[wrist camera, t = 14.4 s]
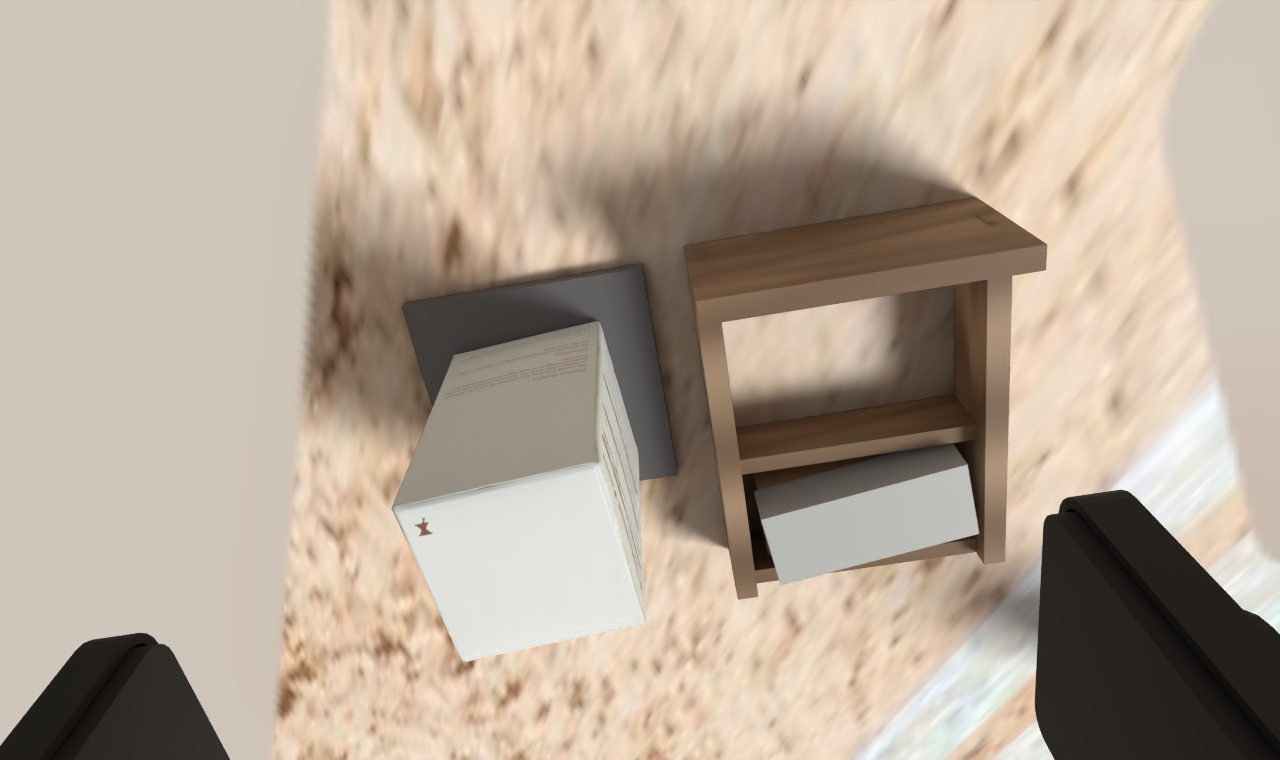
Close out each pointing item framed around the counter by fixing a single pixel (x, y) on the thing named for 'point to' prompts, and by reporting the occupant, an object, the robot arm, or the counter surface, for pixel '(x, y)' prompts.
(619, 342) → the rubber mat
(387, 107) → the counter surface
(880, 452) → the walnut rack
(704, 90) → the counter surface
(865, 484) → the upper offcut
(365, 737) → the counter surface
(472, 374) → the supplement box
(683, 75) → the counter surface
